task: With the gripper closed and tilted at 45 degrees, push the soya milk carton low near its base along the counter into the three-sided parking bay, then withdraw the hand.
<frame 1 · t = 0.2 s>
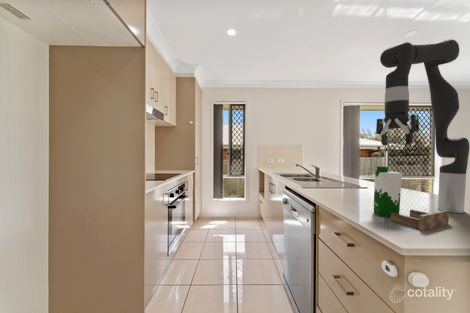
hand: (396, 145, 93), 29 cm above the worktop, tool pointing down, fingers open, 8 cm apart
soya milk: (386, 215, 105), on the worktop
parking bay: (415, 222, 95), on the worktop
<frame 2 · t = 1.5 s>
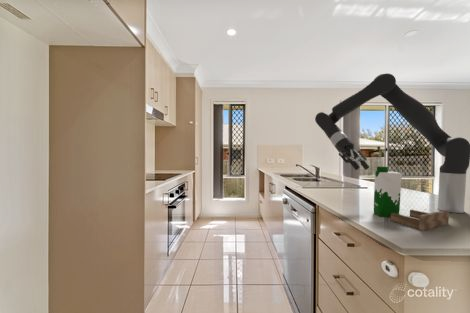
hand: (362, 168, 114), 18 cm above the worktop, tool tilted 45°, fingers open, 6 cm apart
nothing on the worktop moved.
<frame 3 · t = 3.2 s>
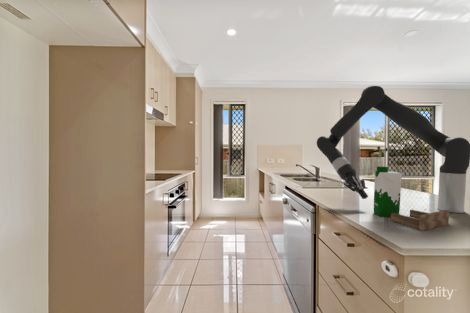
hand: (365, 197, 113), 5 cm above the worktop, tool tilted 45°, fingers closed
nothing on the worktop moved.
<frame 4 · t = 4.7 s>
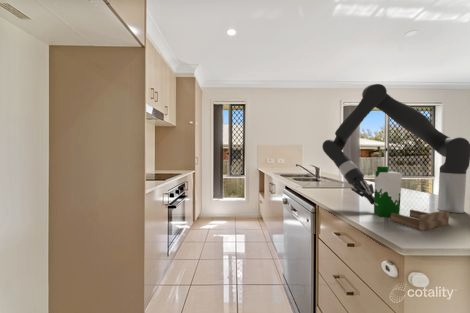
hand: (374, 203, 109), 4 cm above the worktop, tool tilted 45°, fingers closed
soya milk: (386, 215, 105), on the worktop, touching gripper
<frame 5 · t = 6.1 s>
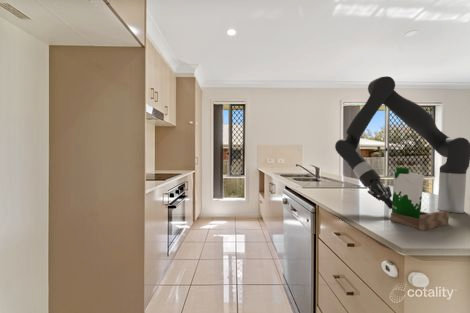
hand: (393, 207, 102), 4 cm above the worktop, tool tilted 45°, fingers closed
soya milk: (405, 219, 99), on the worktop, touching gripper
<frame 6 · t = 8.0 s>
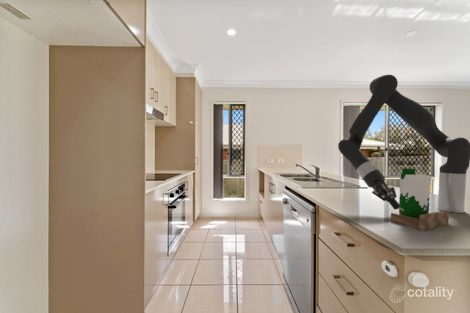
hand: (398, 208, 100), 4 cm above the worktop, tool tilted 45°, fingers closed
soya milk: (413, 221, 96), on the worktop
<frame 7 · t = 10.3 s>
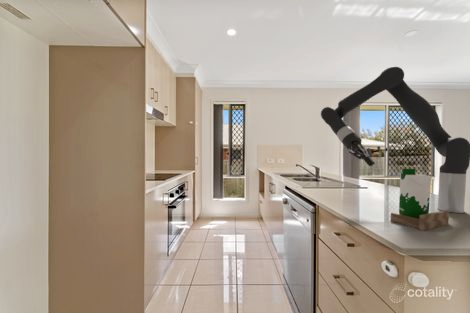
hand: (372, 164, 110), 20 cm above the worktop, tool tilted 45°, fingers closed
nothing on the worktop moved.
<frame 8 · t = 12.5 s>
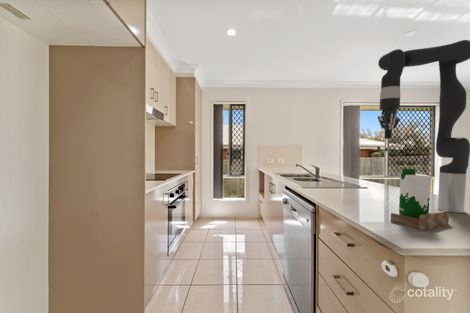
hand: (388, 138, 110), 32 cm above the worktop, tool pointing down, fingers closed
nothing on the worktop moved.
at the end: soya milk inside the target area (2.5 cm from its centre), on the worktop; soya milk tilted 0°; the gripper is holding nothing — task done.
